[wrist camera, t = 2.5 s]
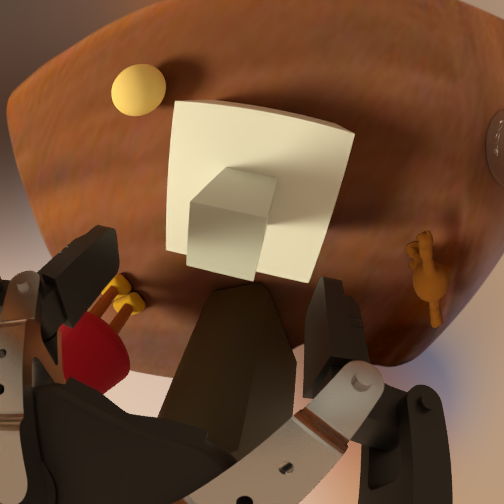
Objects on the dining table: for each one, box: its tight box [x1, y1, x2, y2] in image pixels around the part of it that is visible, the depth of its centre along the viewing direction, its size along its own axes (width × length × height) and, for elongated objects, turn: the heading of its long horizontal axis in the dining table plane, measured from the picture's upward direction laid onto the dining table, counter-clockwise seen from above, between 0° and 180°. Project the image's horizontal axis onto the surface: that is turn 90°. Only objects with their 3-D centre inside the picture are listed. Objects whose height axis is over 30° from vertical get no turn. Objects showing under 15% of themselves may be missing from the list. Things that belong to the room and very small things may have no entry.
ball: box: [112, 64, 166, 116], centre depth 19 cm, size 5×5×5 cm
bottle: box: [157, 283, 297, 462], centre depth 25 cm, size 8×16×25 cm, turn 20°
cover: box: [166, 100, 355, 283], centre depth 18 cm, size 11×11×15 cm
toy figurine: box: [405, 230, 448, 328], centre depth 23 cm, size 12×4×7 cm, turn 30°
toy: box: [59, 274, 145, 394], centre depth 23 cm, size 27×11×30 cm, turn 30°
